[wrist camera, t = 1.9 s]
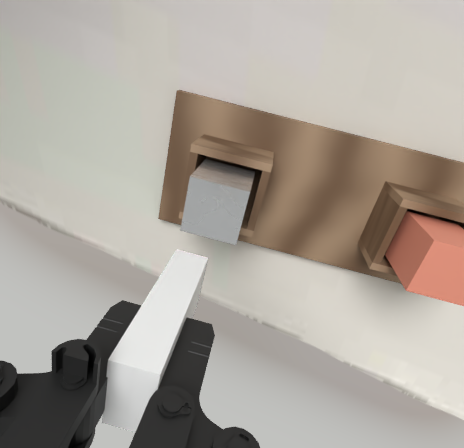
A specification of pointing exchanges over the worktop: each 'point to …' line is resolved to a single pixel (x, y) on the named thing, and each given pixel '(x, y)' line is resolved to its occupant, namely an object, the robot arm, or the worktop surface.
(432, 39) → the worktop surface
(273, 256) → the worktop surface
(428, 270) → the salmon pink plug
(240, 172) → the steel plug
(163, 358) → the robot arm
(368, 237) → the socket panel
